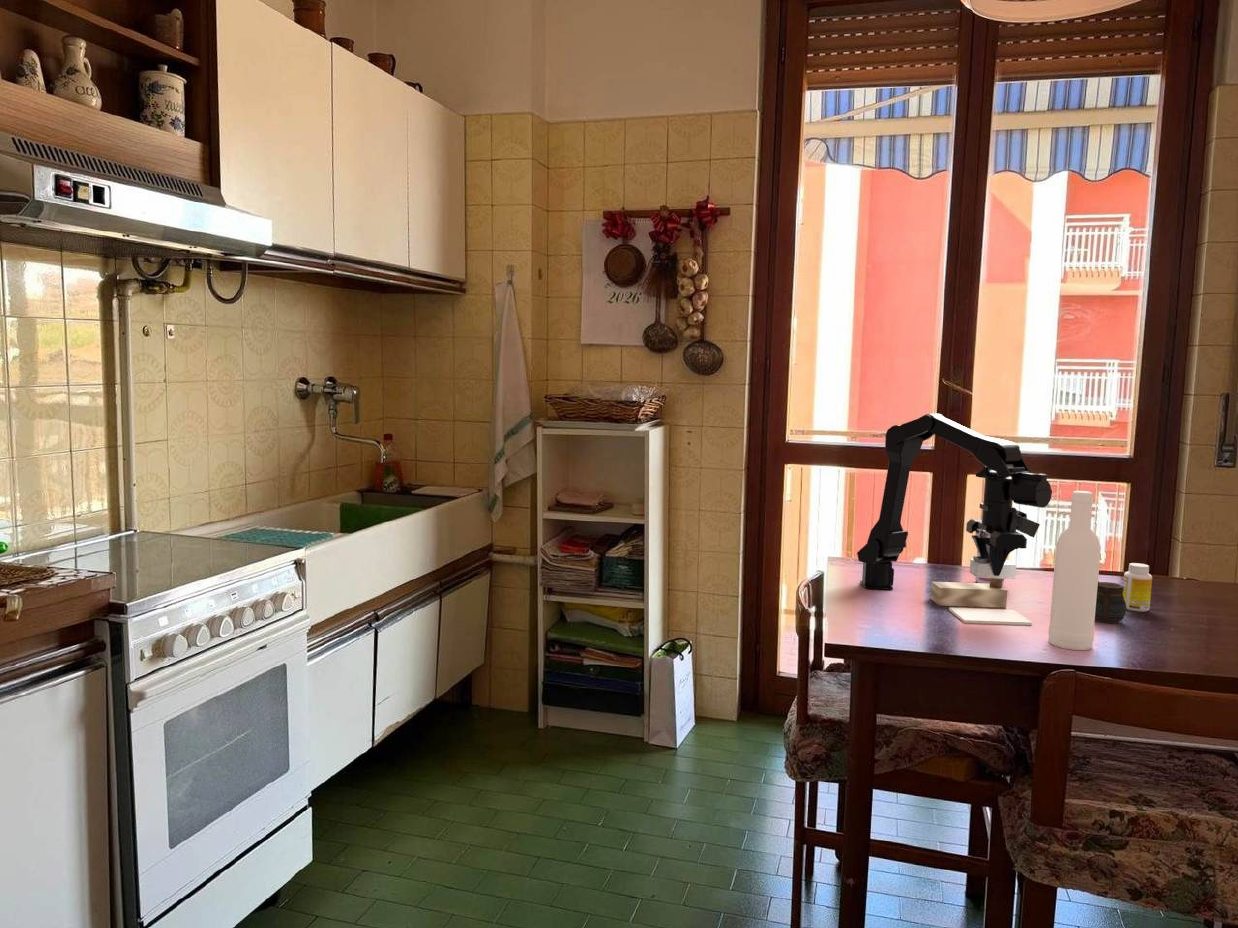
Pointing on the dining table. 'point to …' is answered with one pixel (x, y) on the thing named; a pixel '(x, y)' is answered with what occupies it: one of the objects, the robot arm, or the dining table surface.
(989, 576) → the lever cap
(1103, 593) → the mate gourd
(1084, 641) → the bottle
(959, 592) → the body
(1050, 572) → the dining table surface
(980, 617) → the board
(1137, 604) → the supplement bottle
